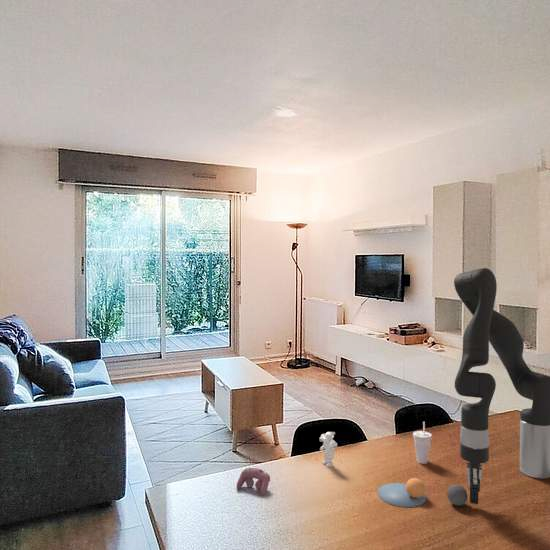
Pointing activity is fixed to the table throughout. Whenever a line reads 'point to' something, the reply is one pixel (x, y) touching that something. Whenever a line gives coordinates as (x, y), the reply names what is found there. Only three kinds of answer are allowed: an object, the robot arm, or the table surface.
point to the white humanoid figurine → (328, 448)
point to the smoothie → (422, 445)
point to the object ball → (415, 488)
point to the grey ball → (457, 495)
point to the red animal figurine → (257, 474)
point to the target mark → (399, 495)
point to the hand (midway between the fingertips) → (473, 502)
